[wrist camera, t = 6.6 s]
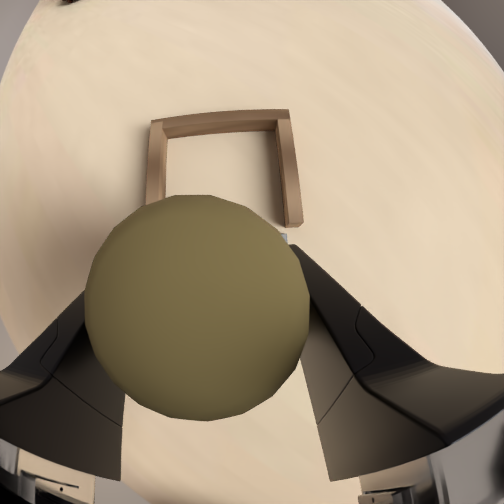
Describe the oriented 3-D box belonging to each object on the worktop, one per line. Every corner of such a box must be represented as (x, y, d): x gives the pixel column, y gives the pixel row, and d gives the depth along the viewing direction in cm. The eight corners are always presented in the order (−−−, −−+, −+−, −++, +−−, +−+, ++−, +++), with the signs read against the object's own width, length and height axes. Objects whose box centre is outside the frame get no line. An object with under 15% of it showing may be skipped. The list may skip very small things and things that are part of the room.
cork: (155, 311, 15) (19, 355, 4) (203, 220, 16) (131, 111, 5) (245, 361, 15) (251, 496, 4) (295, 269, 15) (402, 248, 5)
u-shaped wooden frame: (298, 227, 20) (303, 222, 18) (153, 237, 20) (145, 233, 18) (285, 120, 21) (288, 109, 19) (157, 130, 21) (151, 120, 19)
